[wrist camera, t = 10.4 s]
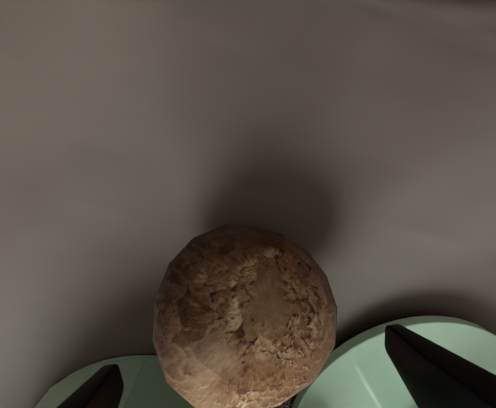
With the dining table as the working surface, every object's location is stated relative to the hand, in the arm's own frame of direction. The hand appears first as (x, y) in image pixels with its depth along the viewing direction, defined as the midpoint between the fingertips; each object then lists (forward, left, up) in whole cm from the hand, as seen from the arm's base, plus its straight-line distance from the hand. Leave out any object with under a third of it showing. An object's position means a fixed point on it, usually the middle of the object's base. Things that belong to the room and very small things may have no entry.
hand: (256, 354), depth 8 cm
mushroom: (0, 0, -6) cm, 6 cm away
